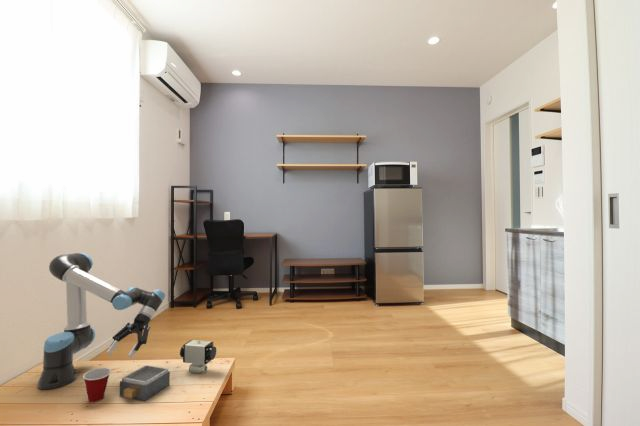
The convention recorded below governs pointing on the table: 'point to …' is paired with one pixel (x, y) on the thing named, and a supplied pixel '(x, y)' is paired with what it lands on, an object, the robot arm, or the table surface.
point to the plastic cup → (96, 383)
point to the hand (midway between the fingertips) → (119, 355)
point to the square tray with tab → (144, 383)
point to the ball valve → (198, 355)
